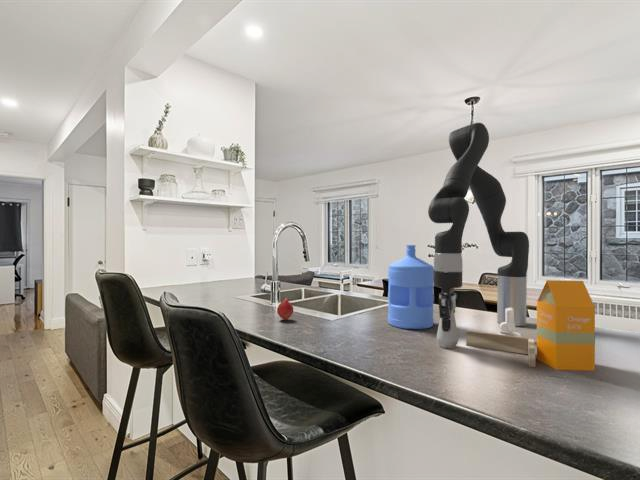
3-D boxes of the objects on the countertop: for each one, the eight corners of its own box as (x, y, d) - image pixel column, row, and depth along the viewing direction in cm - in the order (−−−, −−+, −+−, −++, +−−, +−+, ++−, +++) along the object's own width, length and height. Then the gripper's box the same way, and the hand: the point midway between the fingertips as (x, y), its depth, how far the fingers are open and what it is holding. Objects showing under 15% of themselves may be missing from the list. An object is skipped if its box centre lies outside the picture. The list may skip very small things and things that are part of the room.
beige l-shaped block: (466, 344, 100) (466, 330, 100) (533, 353, 92) (533, 338, 92) (460, 355, 89) (461, 339, 89) (535, 367, 81) (535, 349, 81)
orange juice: (536, 358, 88) (536, 278, 88) (572, 359, 87) (572, 279, 88) (556, 369, 80) (556, 282, 80) (595, 370, 80) (596, 282, 80)
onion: (275, 321, 126) (275, 299, 126) (279, 318, 131) (280, 296, 131) (291, 322, 125) (291, 299, 125) (294, 318, 130) (295, 297, 130)
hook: (501, 326, 99) (492, 309, 105) (501, 353, 106) (492, 335, 111) (529, 322, 98) (518, 304, 104) (527, 350, 104) (517, 332, 110)
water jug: (386, 319, 132) (387, 244, 133) (429, 320, 130) (430, 245, 130) (388, 328, 117) (389, 245, 117) (437, 331, 115) (438, 245, 115)
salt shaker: (442, 342, 101) (442, 297, 102) (462, 346, 97) (462, 299, 97) (432, 346, 97) (433, 299, 97) (452, 350, 93) (453, 302, 93)
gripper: (438, 267, 105) (438, 325, 105) (428, 270, 93) (427, 335, 93) (465, 268, 102) (465, 328, 102) (458, 271, 90) (457, 339, 89)
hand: (447, 331), depth 97 cm, fingers closed on salt shaker, 3 cm apart
